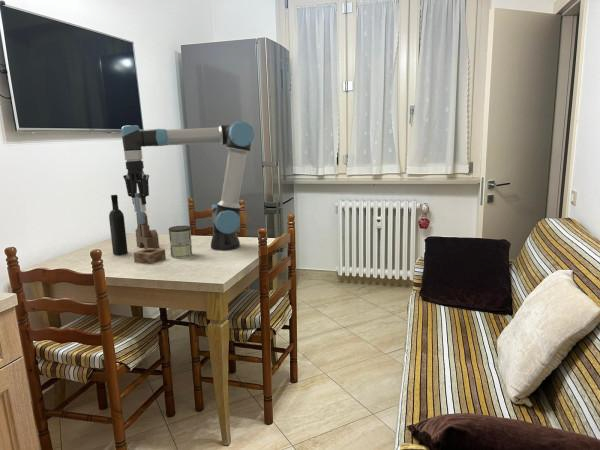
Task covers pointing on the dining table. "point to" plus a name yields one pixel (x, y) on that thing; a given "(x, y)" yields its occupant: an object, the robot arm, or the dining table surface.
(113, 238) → the wine bottle
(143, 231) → the wooden toy
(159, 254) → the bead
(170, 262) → the dining table surface
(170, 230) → the glass jar
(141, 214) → the grey rod
